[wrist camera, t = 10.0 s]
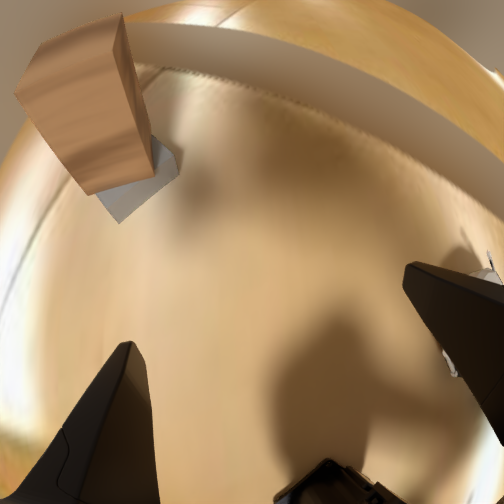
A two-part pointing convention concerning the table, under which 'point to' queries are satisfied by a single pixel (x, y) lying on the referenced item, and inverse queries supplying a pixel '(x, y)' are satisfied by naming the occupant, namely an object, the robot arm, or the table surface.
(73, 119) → the walnut block
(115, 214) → the base slab
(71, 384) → the table surface
